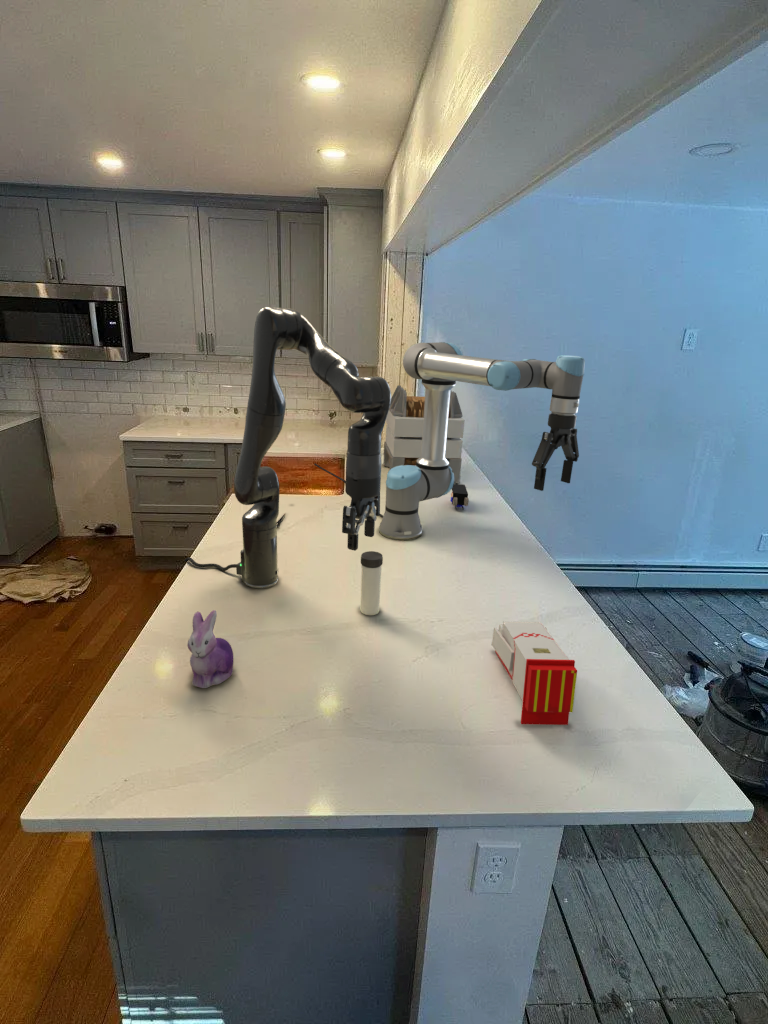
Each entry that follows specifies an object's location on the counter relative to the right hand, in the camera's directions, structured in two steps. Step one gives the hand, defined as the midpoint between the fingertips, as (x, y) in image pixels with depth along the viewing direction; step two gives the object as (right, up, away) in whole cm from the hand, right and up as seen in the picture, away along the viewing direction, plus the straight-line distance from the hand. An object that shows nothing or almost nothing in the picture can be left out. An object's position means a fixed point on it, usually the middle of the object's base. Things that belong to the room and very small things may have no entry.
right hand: (552, 485), depth 166 cm
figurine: (-85, -42, -46) cm, 106 cm away
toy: (-19, -44, -43) cm, 65 cm away
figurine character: (-19, -5, +66) cm, 69 cm away
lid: (-52, -19, -22) cm, 60 cm away
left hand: (-54, -14, -39) cm, 69 cm away
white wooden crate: (-32, +11, +109) cm, 115 cm away
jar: (-53, -33, -17) cm, 65 cm away
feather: (-86, -10, +45) cm, 98 cm away
